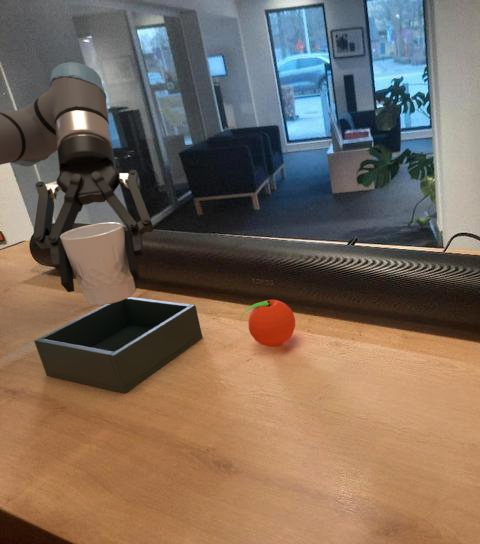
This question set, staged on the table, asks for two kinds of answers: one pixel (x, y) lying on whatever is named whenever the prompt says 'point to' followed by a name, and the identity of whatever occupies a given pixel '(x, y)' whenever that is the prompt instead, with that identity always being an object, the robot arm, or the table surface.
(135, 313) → the open dark box
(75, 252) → the white cup
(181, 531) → the table surface
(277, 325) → the clementine
